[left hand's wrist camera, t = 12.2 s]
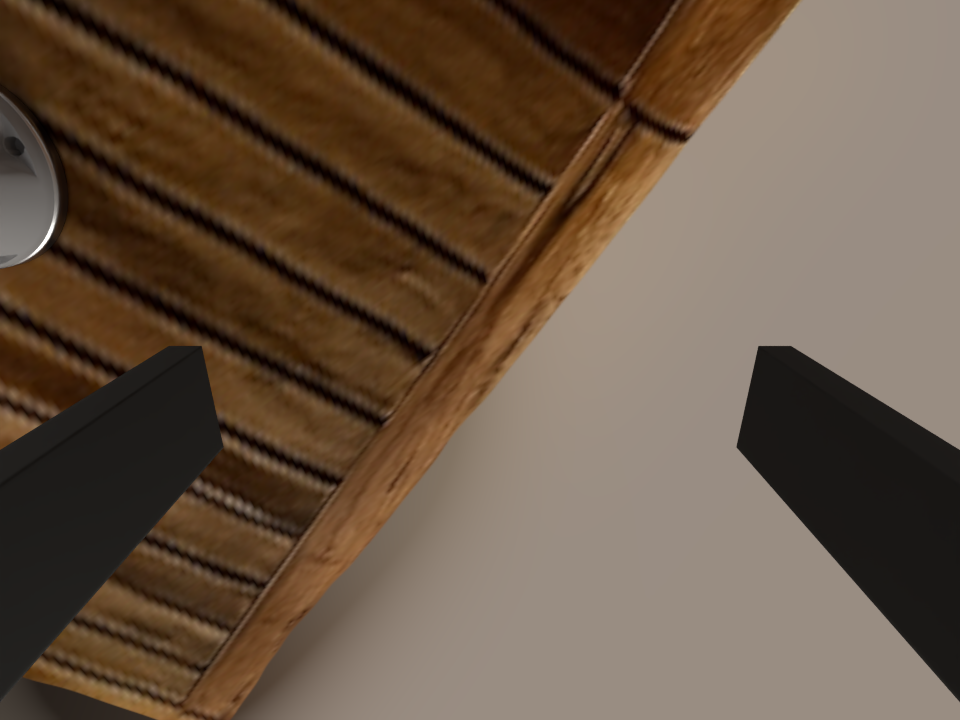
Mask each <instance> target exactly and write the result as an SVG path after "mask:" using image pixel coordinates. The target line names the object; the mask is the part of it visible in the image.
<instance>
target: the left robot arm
mask: <svg viewBox="0 0 960 720" xmlns="http://www.w3.org/2000/svg"><path fill="white" fill-rule="evenodd" d="M67 210H68V189H67V182H66V177H65V173H64V169H63V166H62V163H61V160H60V158H59V155H58V153H57V151H56V149H55V147H54V144H53V143H52V141H51V139H50V137H49V136H48V134H47V132H46V131H45V129H44V128H43V127H42V125H41V124H40V122H39V121H38V120H37V119H36V117H35V116H34V115H33V114H32V112H31V111H30V110H29V109H28V108H27V107H26V106H25V105H24V104H23V103H22V102H21V101H20V100H19V99H18V98H17V97H16V96H15V95H13V94H12V93H11V92H10V91H8V90H7V89H6V88H5V87H3V86H2V85H0V269H1V268H6V267H10V266H14V265H18V264H22V263H26V262H28V261H31V260H33V259H35V258H37V257H39V256H40V255H42V254H43V253H45V252H46V251H47V250H48V249H49V248H50V247H51V246H52V245H53V244H54V243H55V241H56V240H57V238H58V237H59V235H60V233H61V231H62V229H63V226H64V223H65V220H66V216H67ZM222 448H223V443H222V438H221V433H220V429H219V424H218V420H217V415H216V410H215V406H214V401H213V397H212V392H211V387H210V383H209V378H208V374H207V369H206V364H205V360H204V355H203V351H202V346H168V347H167V348H165V349H164V350H162V351H160V352H159V353H157V354H155V355H154V356H152V357H151V358H149V359H147V360H146V361H144V362H142V363H141V364H139V365H138V366H136V367H134V368H133V369H131V370H129V371H128V372H126V373H125V374H123V375H121V376H120V377H118V378H116V379H115V380H113V381H112V382H110V383H108V384H107V385H105V386H103V387H102V388H100V389H99V390H97V391H95V392H94V393H92V394H90V395H89V396H87V397H86V398H84V399H82V400H81V401H79V402H77V403H76V404H74V405H73V406H71V407H69V408H68V409H66V410H64V411H63V412H61V413H60V414H58V415H56V416H55V417H53V418H51V419H50V420H48V421H47V422H45V423H43V424H42V425H40V426H38V427H37V428H35V429H34V430H32V431H30V432H29V433H27V434H25V435H24V436H22V437H21V438H19V439H17V440H16V441H14V442H13V443H11V444H9V445H8V446H6V447H4V448H3V449H1V450H0V702H1V700H2V699H3V698H4V697H5V696H6V695H7V694H8V692H9V691H10V690H11V689H12V688H13V687H14V686H15V684H16V683H17V682H18V681H19V680H20V679H21V678H22V676H23V675H24V674H25V673H26V672H27V671H28V670H29V668H30V667H31V666H32V665H33V664H34V663H35V662H36V660H37V659H38V658H39V657H40V656H41V655H42V654H43V652H44V651H45V650H46V649H47V648H48V647H49V646H50V645H51V643H52V642H53V641H54V640H55V639H56V638H57V637H58V635H59V634H60V633H61V632H62V631H63V630H64V629H65V627H66V626H67V625H68V624H69V623H70V622H71V621H72V619H73V618H74V617H75V616H76V615H77V614H78V613H79V611H80V610H81V609H82V608H83V607H84V606H85V605H86V603H87V602H88V601H89V600H90V599H91V598H92V597H93V595H94V594H95V593H96V592H97V591H98V590H99V589H100V587H101V586H102V585H103V584H104V583H105V582H106V581H107V579H108V578H109V577H110V576H111V575H112V574H113V573H114V571H115V570H116V569H117V568H118V567H119V566H120V565H121V564H122V562H123V561H124V560H125V559H126V558H127V557H128V556H129V554H130V553H131V552H132V551H133V550H134V549H135V548H136V546H137V545H138V544H139V543H140V542H141V541H142V540H143V538H144V537H145V536H146V535H147V534H148V533H149V532H150V530H151V529H152V528H153V527H154V526H155V525H156V524H157V522H158V521H159V520H160V519H161V518H162V517H163V516H164V514H165V513H166V512H167V511H168V510H169V509H170V508H171V506H172V505H173V504H174V503H175V502H176V501H177V500H178V498H179V497H180V496H181V495H182V494H183V493H184V492H185V491H186V489H187V488H188V487H189V486H190V485H191V484H192V483H193V481H194V480H195V479H196V478H197V477H198V476H199V475H200V473H201V472H202V471H203V470H204V469H205V468H206V467H207V465H208V464H209V463H210V462H211V461H212V460H213V459H214V457H215V456H216V455H217V454H218V453H219V452H220V451H221V449H222ZM737 448H738V449H739V451H740V452H741V453H742V454H743V455H744V456H745V457H746V458H747V460H748V461H749V462H750V463H751V464H752V465H753V467H754V468H755V469H756V470H757V471H758V472H759V473H760V474H761V476H762V477H763V478H764V479H765V480H766V481H767V483H768V484H769V485H770V486H771V487H772V488H773V489H774V490H775V492H776V493H777V494H778V495H779V496H780V497H781V498H782V500H783V501H784V502H785V503H786V504H787V505H788V506H789V508H790V509H791V510H792V511H793V512H794V513H795V514H796V516H797V517H798V518H799V519H800V520H801V521H802V522H803V524H804V525H805V526H806V527H807V528H808V529H809V530H810V532H811V533H812V534H813V535H814V536H815V537H816V538H817V540H818V541H819V542H820V543H821V544H822V545H823V546H824V548H825V549H826V550H827V551H828V552H829V553H830V554H831V556H832V557H833V558H834V559H835V560H836V561H837V562H838V564H839V565H840V566H841V567H842V568H843V569H844V570H845V571H846V573H847V574H848V575H849V576H850V577H851V578H852V579H853V581H854V582H855V583H856V584H857V585H858V586H859V587H860V589H861V590H862V591H863V592H864V593H865V594H866V595H867V597H868V598H869V599H870V600H871V601H872V602H873V603H874V605H875V606H876V607H877V608H878V609H879V610H880V611H881V613H882V614H883V615H884V616H885V617H886V618H887V619H888V620H889V622H890V623H891V624H892V625H893V626H894V627H895V628H896V630H897V631H898V632H899V633H900V634H901V635H902V637H903V638H904V639H905V640H906V641H907V642H908V643H909V644H910V646H911V647H912V648H913V649H914V650H915V651H916V652H917V654H918V655H919V656H920V657H921V658H922V659H923V660H924V662H925V663H926V664H927V665H928V666H929V667H930V668H931V670H932V671H933V672H934V673H935V674H936V675H937V676H938V678H939V679H940V680H941V681H942V682H943V683H944V684H945V686H946V687H947V688H948V689H949V690H950V691H951V692H952V694H953V695H954V696H955V697H956V698H957V699H958V700H959V701H960V450H959V449H957V448H956V447H954V446H952V445H951V444H949V443H947V442H946V441H944V440H943V439H941V438H939V437H938V436H936V435H935V434H933V433H931V432H930V431H928V430H926V429H925V428H923V427H921V426H920V425H918V424H917V423H915V422H913V421H912V420H910V419H909V418H907V417H905V416H904V415H902V414H900V413H899V412H897V411H896V410H894V409H892V408H891V407H889V406H887V405H886V404H884V403H883V402H881V401H879V400H878V399H876V398H874V397H873V396H871V395H870V394H868V393H866V392H865V391H863V390H861V389H860V388H858V387H857V386H855V385H853V384H852V383H850V382H848V381H847V380H845V379H844V378H842V377H840V376H839V375H837V374H835V373H834V372H832V371H831V370H829V369H827V368H826V367H824V366H822V365H821V364H819V363H818V362H816V361H814V360H813V359H811V358H809V357H808V356H806V355H805V354H803V353H801V352H800V351H798V350H796V349H795V348H793V347H792V346H759V347H758V351H757V355H756V360H755V365H754V369H753V374H752V378H751V383H750V387H749V392H748V397H747V401H746V406H745V410H744V415H743V420H742V424H741V429H740V433H739V438H738V443H737Z"/></svg>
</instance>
